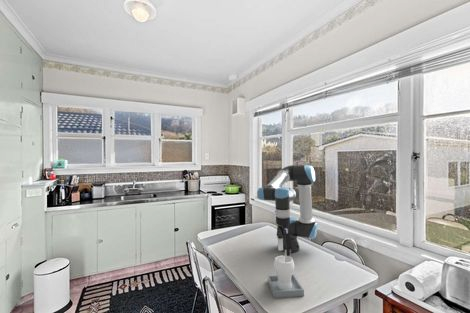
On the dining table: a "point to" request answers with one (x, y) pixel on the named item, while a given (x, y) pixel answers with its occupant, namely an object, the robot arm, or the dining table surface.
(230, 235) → the dining table surface
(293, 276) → the tray
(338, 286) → the dining table surface
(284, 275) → the cup
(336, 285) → the dining table surface
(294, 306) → the dining table surface
